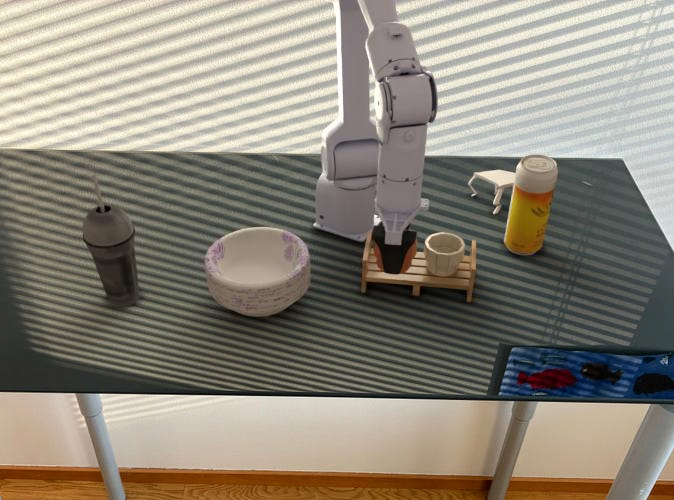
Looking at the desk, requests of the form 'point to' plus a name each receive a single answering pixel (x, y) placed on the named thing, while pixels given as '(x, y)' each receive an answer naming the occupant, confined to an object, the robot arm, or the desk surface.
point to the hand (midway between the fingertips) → (394, 258)
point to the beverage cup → (112, 250)
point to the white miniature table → (495, 183)
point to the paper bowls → (258, 270)
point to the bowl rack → (420, 272)
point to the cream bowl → (443, 253)
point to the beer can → (530, 204)
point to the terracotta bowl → (407, 261)
